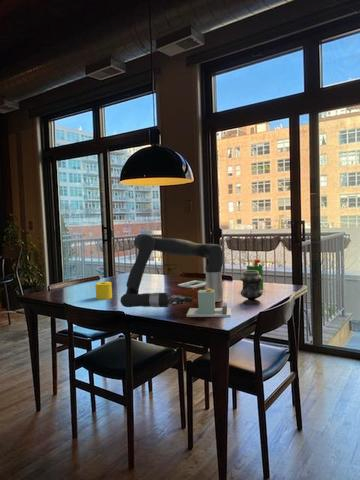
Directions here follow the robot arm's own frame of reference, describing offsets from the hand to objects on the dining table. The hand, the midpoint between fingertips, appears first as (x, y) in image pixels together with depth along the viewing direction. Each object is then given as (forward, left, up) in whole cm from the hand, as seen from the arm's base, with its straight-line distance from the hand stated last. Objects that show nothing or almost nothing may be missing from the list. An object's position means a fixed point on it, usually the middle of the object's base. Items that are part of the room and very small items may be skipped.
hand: (192, 299), depth 192 cm
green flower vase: (-18, +67, -8) cm, 70 cm away
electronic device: (-59, +48, -8) cm, 76 cm away
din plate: (+5, +7, -8) cm, 11 cm away
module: (+5, +5, -7) cm, 10 cm away
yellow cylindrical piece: (-70, -17, -8) cm, 72 cm away
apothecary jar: (+5, +38, -8) cm, 39 cm away
